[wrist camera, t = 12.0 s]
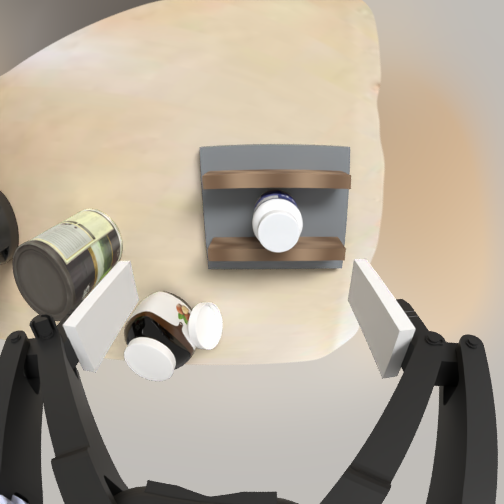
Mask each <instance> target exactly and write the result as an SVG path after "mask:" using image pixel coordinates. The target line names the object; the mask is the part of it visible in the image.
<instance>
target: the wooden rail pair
mask: <svg viewBox="0 0 504 504" xmlns="http://www.w3.org/2000/svg"><path fill="white" fill-rule="evenodd" d="M202 181H203V189H226V188H333V189H351V175H349V174H347V173H345V172H343V171H332V170H292V169H263V170H223V171H208V172H207V173H206V174H204V175H203V176H202ZM345 251H346V248H345V247H344V245H343V244H342V242H341V241H340V239H339V238H338V237H299V239H298V241H297V243H296V244H295V245H294V246H293V247H292V248H291V249H289V250H288V251H285V252H272V251H269V250H267V249H266V248H265V247H264V246H263V245H262V244H261V243H260V241H259V240H258V239H257V237H213V239H212V241H211V243H210V245H209V247H208V259H209V261H331V260H345Z"/></svg>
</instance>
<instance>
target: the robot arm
mask: <svg viewBox="0 0 504 504" xmlns="http://www.w3.org/2000/svg"><path fill="white" fill-rule="evenodd" d="M17 247H18V228H17V223H16V219H15V215H14V212H13V210H12V207H11V205H10V203H9V201H8V200H7V198H6V197H5V195H4V194H3V193H2V192H1V191H0V265H2V264H5V263H6V262H8V261H9V260H11V259H12V258H13V256H14V253H15V251H16V249H17ZM138 301H139V298H138V294H137V289H136V285H135V280H134V276H133V271H132V266H131V261H119V262H118V263H117V264H116V265H115V266H114V267H113V268H112V270H111V271H110V272H109V273H108V274H107V275H106V276H105V277H104V278H103V279H102V280H101V281H100V282H99V284H98V285H97V286H96V287H95V288H94V289H93V290H92V291H91V292H90V294H89V295H88V296H87V297H86V298H85V299H82V300H81V301H79V302H78V303H76V304H75V305H74V306H73V308H72V309H71V311H69V312H68V313H67V315H66V316H65V317H64V318H63V319H62V320H61V321H60V323H59V324H58V325H57V326H56V323H55V321H54V318H53V316H52V315H51V314H49V313H44V314H40V315H38V316H36V317H35V318H33V319H32V321H31V322H30V327H31V329H32V331H33V333H34V336H35V338H32V339H28V338H27V336H26V334H25V332H24V331H15V332H13V333H11V334H10V335H9V336H8V337H7V339H6V341H5V344H4V347H3V350H2V352H1V355H0V504H43V491H42V476H41V426H42V411H43V403H44V409H45V414H46V419H47V424H48V428H49V433H50V437H51V441H52V445H53V448H54V452H55V456H56V457H55V458H53V459H52V460H51V464H52V469H53V472H54V475H55V478H56V481H57V484H58V487H59V489H60V493H61V495H62V498H63V501H64V503H65V504H298V503H295V502H293V501H289V500H286V499H282V498H277V492H240V493H234V494H227V495H220V496H212V497H209V496H204V495H202V494H199V493H196V492H193V491H190V490H187V489H185V488H182V487H180V486H177V485H171V484H165V483H159V482H154V481H150V480H148V481H147V486H144V487H135V488H131V489H128V487H127V486H126V485H125V484H124V482H123V480H122V479H121V477H120V475H119V473H118V472H117V470H116V468H115V466H114V464H113V462H112V460H111V457H110V455H109V453H108V451H107V449H106V446H105V445H104V442H103V440H102V437H101V435H100V433H99V430H98V428H97V425H96V423H95V420H94V417H93V415H92V412H91V409H90V406H89V404H88V401H87V398H86V395H85V392H84V389H83V386H82V383H81V379H80V376H79V372H78V370H77V368H76V365H77V363H78V362H80V364H81V366H82V368H83V370H86V371H91V372H96V371H97V369H98V367H99V366H100V364H101V362H102V360H103V359H104V357H105V355H106V353H107V352H108V350H109V348H110V347H111V345H112V343H113V341H114V340H115V338H116V336H117V335H118V333H119V331H120V330H121V328H122V327H123V325H124V323H125V322H126V320H127V318H128V317H129V315H130V314H131V312H132V310H133V309H134V307H135V306H136V304H137V302H138ZM348 301H349V303H350V306H351V308H352V310H353V312H354V314H355V316H356V319H357V321H358V323H359V325H360V327H361V329H362V332H363V334H364V336H365V339H366V341H367V343H368V345H369V348H370V350H371V352H372V355H373V357H374V359H375V362H376V364H377V366H378V369H379V371H380V374H381V376H382V378H389V377H395V376H397V375H398V373H399V371H400V368H401V367H402V369H403V371H404V373H403V375H402V377H401V379H400V381H399V384H398V386H397V388H396V390H395V391H394V393H393V395H392V397H391V399H390V401H389V403H388V405H387V407H386V408H385V410H384V412H383V414H382V416H381V417H380V419H379V421H378V423H377V424H376V426H375V428H374V429H373V431H372V433H371V434H370V436H369V437H368V439H367V441H366V443H365V444H364V445H363V447H362V448H361V450H360V451H359V453H358V454H357V456H356V457H355V459H354V460H353V462H352V463H351V465H350V466H349V467H348V468H347V470H346V471H345V472H344V474H343V475H342V477H341V478H340V479H339V480H338V482H337V483H336V484H335V486H334V487H333V488H332V489H331V491H330V492H329V493H328V494H327V496H326V497H325V498H324V499H323V500H322V502H321V503H320V504H382V502H383V501H384V499H385V497H386V496H387V494H388V492H389V490H390V488H391V481H392V479H393V478H394V476H395V474H396V472H397V470H398V468H399V467H400V465H401V463H402V460H403V459H404V457H405V454H406V453H407V451H408V449H409V447H410V444H411V442H412V440H413V438H414V436H415V433H416V431H417V429H418V426H419V424H420V422H421V419H422V417H423V414H424V412H425V409H426V406H427V404H428V401H429V398H430V395H431V393H432V390H433V387H434V386H439V415H438V431H437V441H436V450H435V457H434V465H433V471H432V477H431V483H430V488H429V493H428V497H427V502H426V504H495V501H496V489H497V469H498V467H497V466H498V449H497V428H496V417H495V416H496V415H495V406H494V398H493V392H492V384H491V378H490V373H489V368H488V362H487V357H486V353H485V349H484V345H483V343H482V341H481V340H480V339H479V338H478V337H476V336H473V335H464V336H462V337H461V339H460V341H459V343H448V342H446V341H445V339H444V338H443V337H442V336H441V335H440V334H438V333H436V332H432V331H428V329H427V328H426V326H425V325H424V323H423V322H422V321H421V319H420V318H419V316H418V315H417V314H416V312H415V311H414V309H413V308H412V307H411V305H410V304H409V303H407V302H406V301H404V300H403V299H395V298H394V296H393V295H392V294H391V292H390V291H389V289H388V288H387V287H386V285H385V284H384V282H383V281H382V280H381V278H380V277H379V276H378V274H377V273H376V272H375V270H374V269H373V268H372V266H371V265H370V263H369V262H368V261H367V260H366V259H354V263H353V270H352V277H351V284H350V290H349V296H348Z"/></svg>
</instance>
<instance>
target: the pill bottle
mask: <svg viewBox="0 0 504 504" xmlns="http://www.w3.org/2000/svg"><path fill="white" fill-rule="evenodd" d="M252 227H253V231H254V234H255V236H256V237H257V239H258V240H259V241H260V243H261V244H262V245H263V246H264V247H265V248H266V249H267V250H269V251H272V252H285V251H288V250H289V249H291V248H292V247H293V246H294V245H295V244H296V243H297V241H298V239H299V236H300V234H301V232H302V228H303V220H302V216H301V213H300V211H299V209H298V206H297V204H296V202H295V200H294V199H293V197H292V196H291V195H290V194H288V193H287V192H285V191H282V190H277V189H275V190H269V191H266V192H265V193H263V194H262V195H261V196H260V197H259V198H258V199H257V201H256V203H255V206H254V213H253V219H252Z"/></svg>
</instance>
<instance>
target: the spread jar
mask: <svg viewBox="0 0 504 504" xmlns="http://www.w3.org/2000/svg"><path fill="white" fill-rule="evenodd" d="M222 327H223V322H222V316H221V312H220V310H219V308H218V307H217V306H216V305H215V304H214V303H211V302H201V303H198V304H197V305H196V306H195V307H194V308H193V310H192V309H191V307H190V306H189V305H188V304H187V303H186V302H185V301H184V300H183V299H181V298H180V297H178V296H176V295H174V294H172V293H169V292H165V291H160V292H155V293H153V294H151V295H149V296H148V297H146V298H145V299H144V300H142V301H141V303H140V304H139V305H138V306H137V307H136V309H135V310H134V312H133V313H132V315H131V316H130V318H129V320H128V321H127V323H126V326H125V330H124V337H125V341H126V344H127V348H126V349H125V351H124V358H125V361H126V363H127V365H128V366H129V367H130V369H131V370H132V371H134V372H135V373H136V374H137V375H139V376H141V377H143V378H145V379H148V380H151V381H165V380H167V379H169V378H170V377H171V376H172V375H173V372H174V370H175V369H177V368H179V367H181V366H183V365H184V364H185V363H186V362H187V361H188V360H189V359H190V358H191V357H192V355H193V353H194V351H195V348H196V347H197V348H199V349H207V350H210V349H213V348H214V347H215V346H216V345H217V344H218V342H219V340H220V338H221V334H222Z"/></svg>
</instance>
